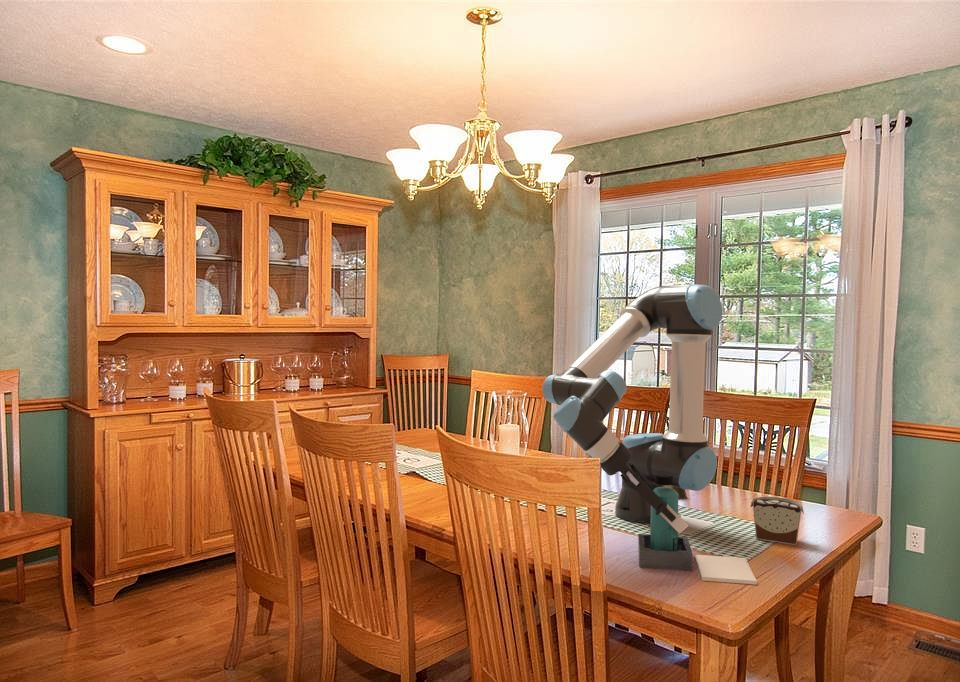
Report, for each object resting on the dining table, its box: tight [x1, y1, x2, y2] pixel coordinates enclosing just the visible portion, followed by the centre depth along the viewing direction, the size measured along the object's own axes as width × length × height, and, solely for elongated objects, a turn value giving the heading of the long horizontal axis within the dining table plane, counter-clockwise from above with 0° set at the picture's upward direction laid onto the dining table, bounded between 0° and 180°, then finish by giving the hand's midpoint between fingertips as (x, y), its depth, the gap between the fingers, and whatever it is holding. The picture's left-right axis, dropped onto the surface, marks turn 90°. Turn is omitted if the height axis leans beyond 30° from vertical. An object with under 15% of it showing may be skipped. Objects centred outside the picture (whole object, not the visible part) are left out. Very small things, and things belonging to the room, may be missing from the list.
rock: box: [664, 485, 688, 499], centre depth 217 cm, size 11×9×10 cm
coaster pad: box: [694, 554, 758, 585], centre depth 152 cm, size 14×11×1 cm
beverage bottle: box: [649, 473, 679, 550], centre depth 158 cm, size 6×7×20 cm
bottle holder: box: [637, 533, 693, 572], centre depth 159 cm, size 11×11×4 cm
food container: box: [750, 496, 805, 546], centre depth 174 cm, size 12×6×10 cm, turn 59°
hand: (680, 524), depth 158 cm, fingers closed on beverage bottle, 6 cm apart
